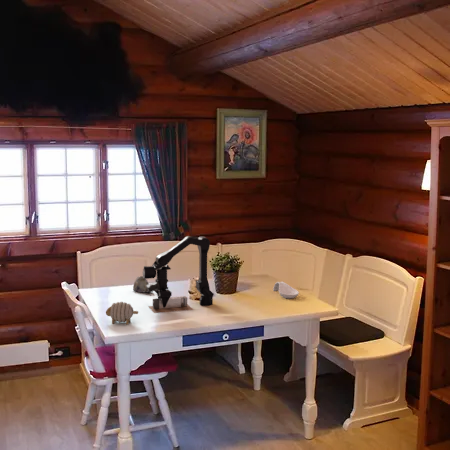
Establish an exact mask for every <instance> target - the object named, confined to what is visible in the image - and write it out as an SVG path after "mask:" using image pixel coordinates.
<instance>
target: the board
mask: <svg viewBox="0 0 450 450" xmlns="http://www.w3.org/2000/svg"><path fill="white" fill-rule="evenodd" d="M148 308H149V309H150V311H152V313H153V314H157V313H158V314H160V313H169V312H170V313H171V312H182V311H194V309H193V308H192V307H191V306H190V305H189V304H188V303H187V306H186V307H185V306H184V307H174V308H162V309H154V308H153V305H152V306H151V305H150V306H149V305H148Z"/></svg>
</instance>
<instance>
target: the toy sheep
mask: <svg viewBox="0 0 450 450" xmlns="http://www.w3.org/2000/svg"><path fill="white" fill-rule="evenodd" d="M138 314H139V311H137V310H134V308H133V307H132V305H131V303H127V302H123V301H120V302H119V301H117V302H113V303H112V304H111V306H109V307H107V308H106V310H105V315H106V316H107V317H111V318H110V319H111V325H114V324H115V322H118V323H125V324H126V325H127V324H128V325H129V323H131V320H132V319H131V318H132V317H133V315H138Z"/></svg>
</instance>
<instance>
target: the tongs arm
mask: <svg viewBox="0 0 450 450" xmlns="http://www.w3.org/2000/svg"><path fill="white" fill-rule="evenodd" d="M180 297H181V298H169V300H168V302H167V305H166V307H165V308H174V307H184V297H183V296H180ZM155 299H156V300H153V299H152V304H153V303H154V309H162V308H163V304H162V299H157V298H155Z"/></svg>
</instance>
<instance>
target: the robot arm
mask: <svg viewBox="0 0 450 450" xmlns="http://www.w3.org/2000/svg"><path fill="white" fill-rule="evenodd" d="M190 245H193V246H197V249H198V252H199V257H198V259H199V264H198V265H199V267H198V271H199V272H198V273H199V275H198V280H195V288H196V290H197V292H199V293H200V298H199V306H204V307H210V306H212V305H213V304H214V303H213V299H214V298H213V297H214V292H213V291H211V288H210V282H209V280H208V253H209V250H210V245H211V240H210V239H209V238H207V237H206V236H199V237H198V236H190V235H187V236H185V237H184V238H183V239H181V241H179V242H178V243H176V244H175V245H174V246H172V247H170V249H168V250H166V251H164V252H161V253H159V254H157V256H155V260H154V262H153V263H152V265H150V266H149V265H148V266H147V265H144V266H143V269H142V276H143V278H144V279H146V280H148V279H155V278H156V279H155V281H154V282H151V283H149V284H148V285H147V286H146V287H147V289H148V291H149V292H148V293H153V292H154V293H155V294H156V295H157V298H162V304H163V308H165V307H166V305H167V302H168V300H169V298H170V297H173V296H172V291H170V289H169V286H168V282H169V280H168V270H171V269H172V268H171V267H170V266H169V265H168V264H169V263H170V262H171V261H172V259H173V258H174V257H175V256H177V254H179V253H181V252H182V251H183V250H184V249H186V248H187V247H188V246H190ZM152 291H153V292H152Z"/></svg>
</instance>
